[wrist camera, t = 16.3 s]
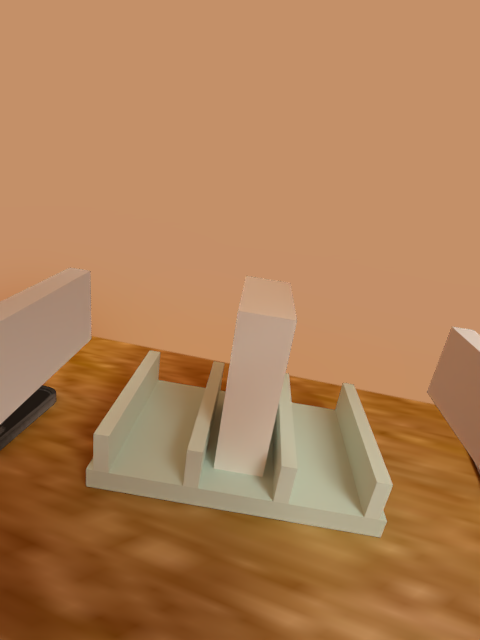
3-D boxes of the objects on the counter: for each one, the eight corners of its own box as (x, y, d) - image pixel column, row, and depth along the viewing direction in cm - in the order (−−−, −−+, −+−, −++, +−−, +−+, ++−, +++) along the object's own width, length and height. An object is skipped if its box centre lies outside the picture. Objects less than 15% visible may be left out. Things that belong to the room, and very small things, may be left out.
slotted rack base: (346, 425, 36) (359, 385, 35) (380, 537, 25) (401, 486, 24) (142, 390, 37) (144, 349, 35) (86, 486, 26) (85, 432, 24)
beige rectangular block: (264, 410, 34) (290, 283, 30) (262, 476, 27) (297, 320, 22) (225, 403, 34) (246, 275, 30) (213, 468, 27) (238, 310, 22)
